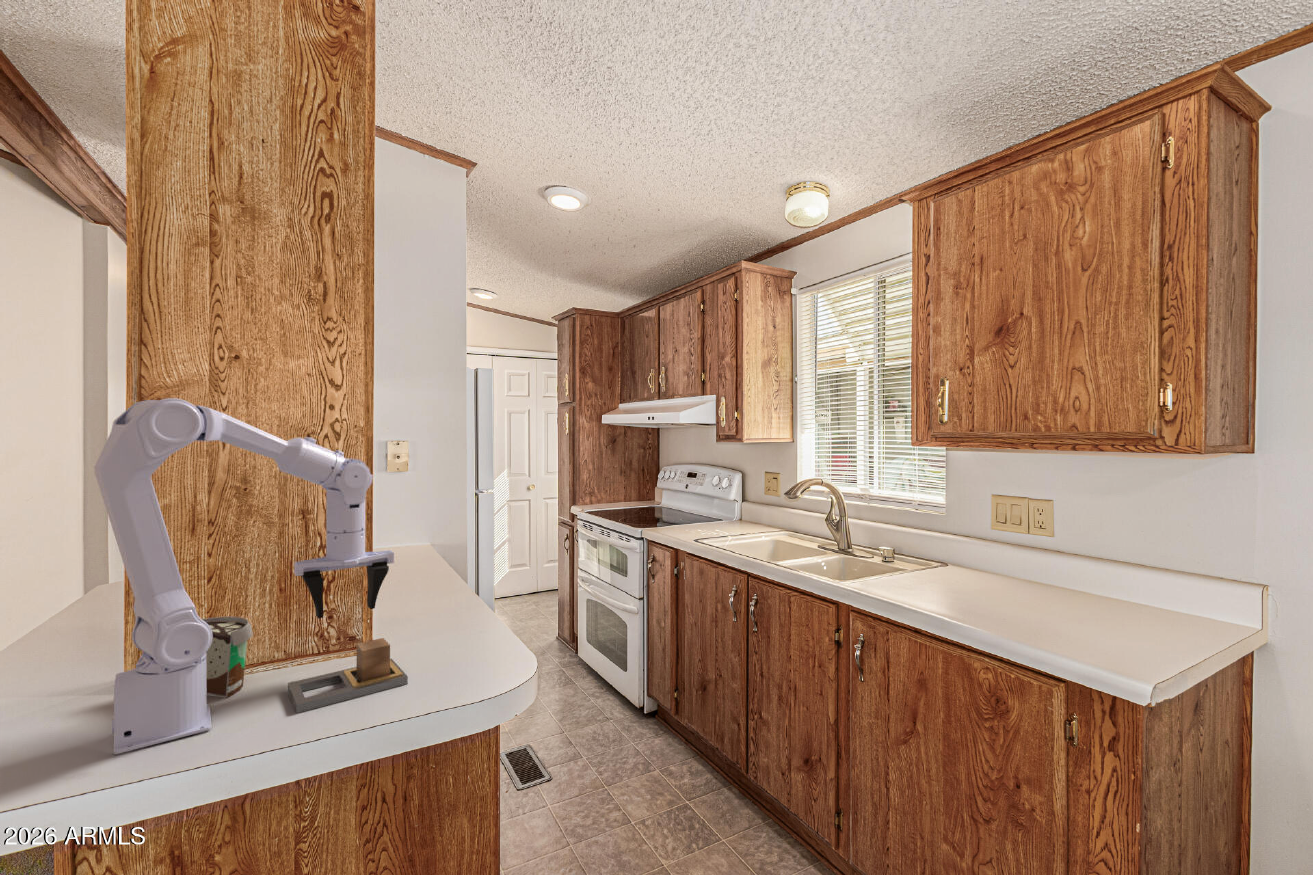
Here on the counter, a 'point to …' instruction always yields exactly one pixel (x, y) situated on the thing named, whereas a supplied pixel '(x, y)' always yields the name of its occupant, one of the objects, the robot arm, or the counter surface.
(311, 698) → the grey slotted tray
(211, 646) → the food container
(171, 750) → the counter surface
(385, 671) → the brown wooden block
